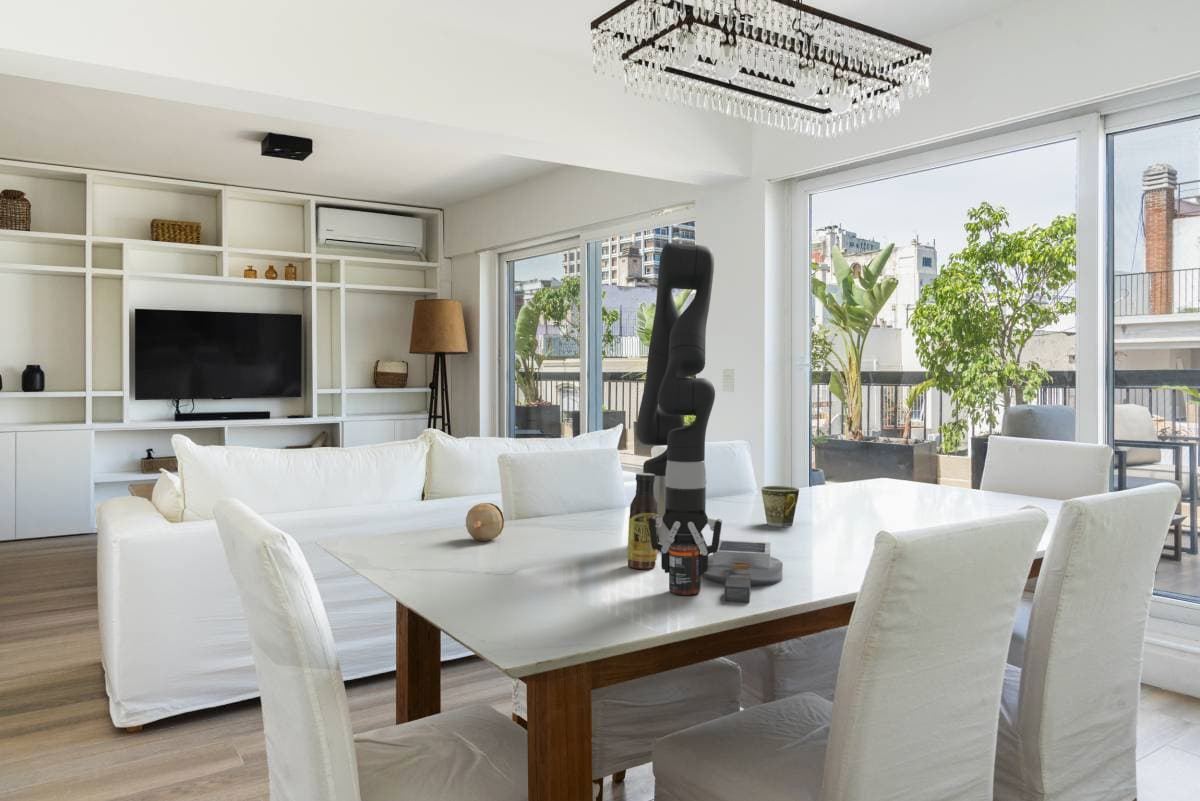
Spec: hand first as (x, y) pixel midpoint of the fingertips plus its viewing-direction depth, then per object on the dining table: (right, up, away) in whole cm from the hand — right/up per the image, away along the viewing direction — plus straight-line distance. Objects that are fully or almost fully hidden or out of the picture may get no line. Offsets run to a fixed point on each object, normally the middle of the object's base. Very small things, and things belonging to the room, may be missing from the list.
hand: (684, 572), depth 157 cm
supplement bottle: (0, -4, 0) cm, 4 cm away
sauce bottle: (-7, -3, +20) cm, 21 cm away
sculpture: (-44, -2, +46) cm, 64 cm away
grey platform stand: (+12, -3, +7) cm, 14 cm away
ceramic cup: (+33, -2, +68) cm, 75 cm away
